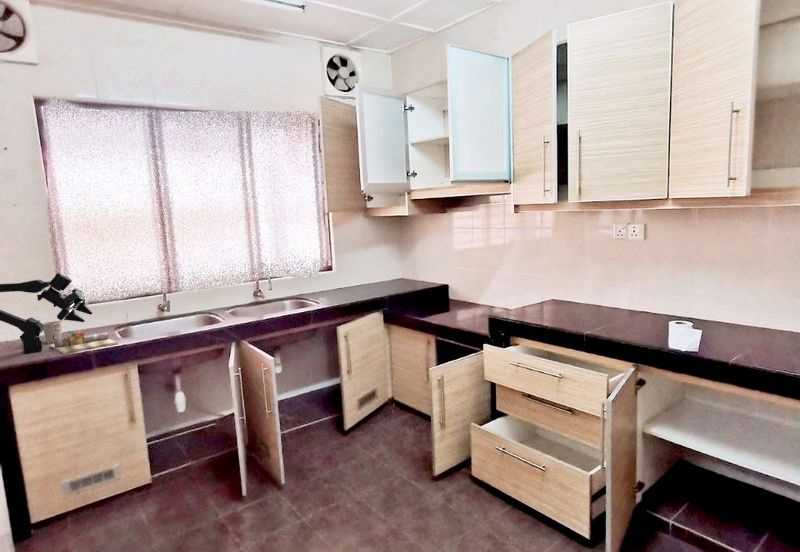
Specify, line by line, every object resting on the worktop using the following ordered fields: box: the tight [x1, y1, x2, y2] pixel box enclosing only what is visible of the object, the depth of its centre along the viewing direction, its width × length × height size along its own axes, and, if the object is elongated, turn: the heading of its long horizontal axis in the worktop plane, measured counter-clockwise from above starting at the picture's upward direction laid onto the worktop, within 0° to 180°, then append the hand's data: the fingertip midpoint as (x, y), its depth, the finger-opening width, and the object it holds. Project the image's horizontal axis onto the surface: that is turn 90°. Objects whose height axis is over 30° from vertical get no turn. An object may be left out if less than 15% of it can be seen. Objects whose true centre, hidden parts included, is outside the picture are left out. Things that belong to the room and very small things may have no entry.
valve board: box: [49, 331, 119, 354], centre depth 233 cm, size 22×24×5 cm
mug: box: [41, 320, 63, 344], centre depth 245 cm, size 8×13×10 cm, turn 61°
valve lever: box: [70, 330, 85, 337], centre depth 228 cm, size 13×2×2 cm, turn 48°
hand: (88, 317), depth 232 cm, fingers open, 9 cm apart
